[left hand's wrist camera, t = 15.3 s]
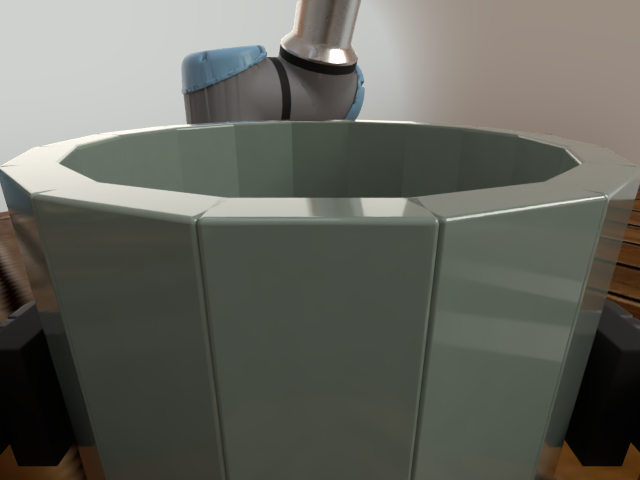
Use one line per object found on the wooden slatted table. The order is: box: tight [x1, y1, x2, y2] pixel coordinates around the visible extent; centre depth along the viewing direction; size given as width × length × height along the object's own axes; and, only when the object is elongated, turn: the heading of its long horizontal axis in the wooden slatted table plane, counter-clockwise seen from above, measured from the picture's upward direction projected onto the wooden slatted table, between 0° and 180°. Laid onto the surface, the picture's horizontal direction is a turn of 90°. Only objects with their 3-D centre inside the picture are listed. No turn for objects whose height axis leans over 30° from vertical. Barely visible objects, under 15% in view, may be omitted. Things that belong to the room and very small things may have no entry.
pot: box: [0, 120, 640, 480], centre depth 10 cm, size 10×10×11 cm
